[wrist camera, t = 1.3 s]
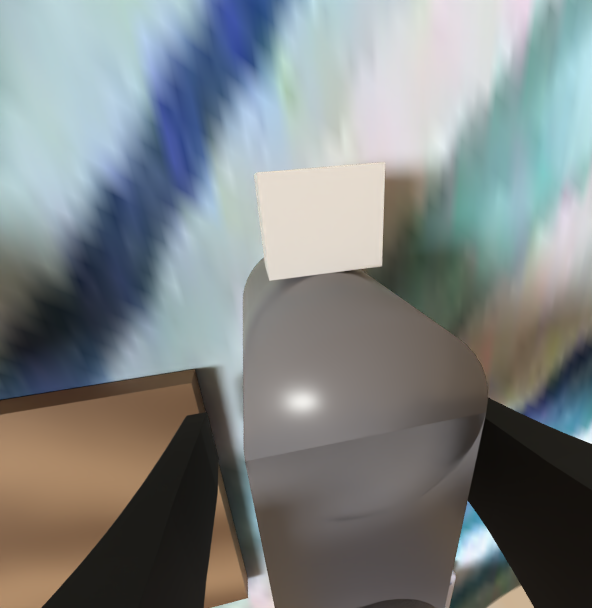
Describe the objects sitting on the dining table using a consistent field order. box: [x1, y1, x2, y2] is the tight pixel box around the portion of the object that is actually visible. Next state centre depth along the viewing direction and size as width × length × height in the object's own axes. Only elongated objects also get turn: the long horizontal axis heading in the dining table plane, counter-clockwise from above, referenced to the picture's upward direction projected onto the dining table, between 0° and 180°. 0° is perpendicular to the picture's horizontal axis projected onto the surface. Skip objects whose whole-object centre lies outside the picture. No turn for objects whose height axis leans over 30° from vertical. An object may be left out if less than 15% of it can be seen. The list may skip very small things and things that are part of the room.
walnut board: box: [0, 369, 248, 608], centre depth 12 cm, size 13×12×1 cm
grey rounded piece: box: [243, 162, 488, 608], centre depth 8 cm, size 13×4×6 cm, turn 5°
